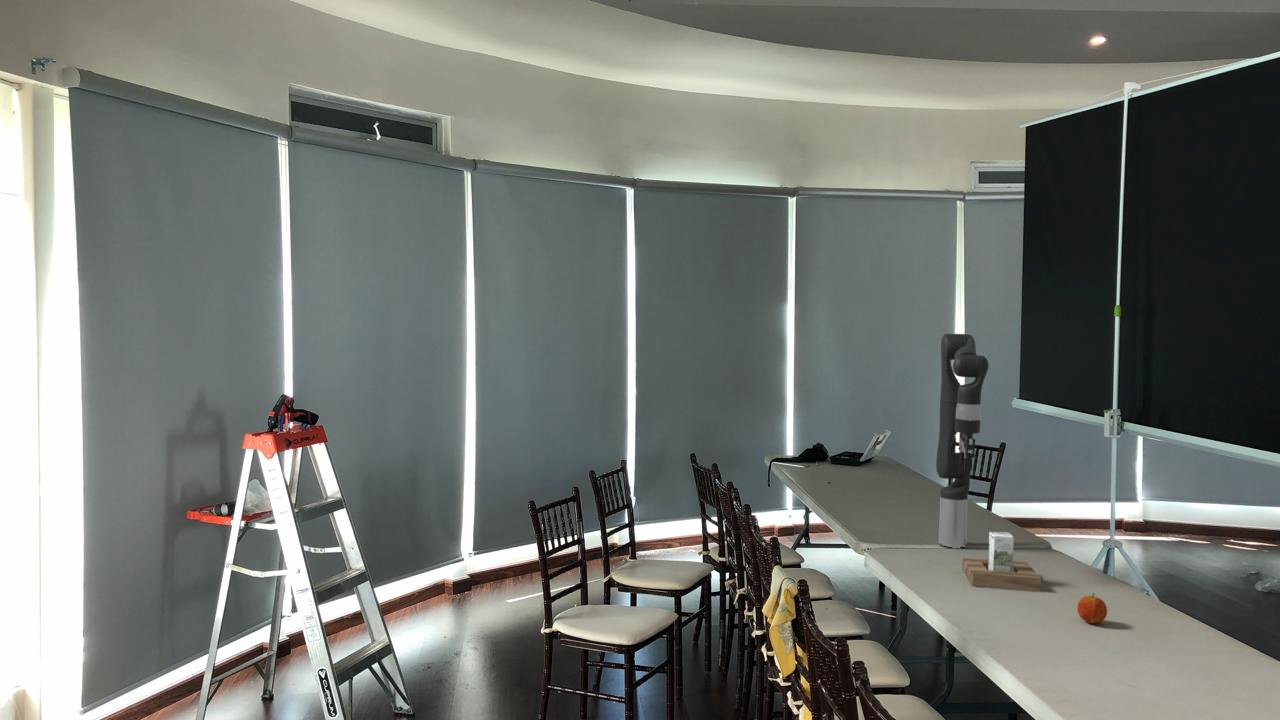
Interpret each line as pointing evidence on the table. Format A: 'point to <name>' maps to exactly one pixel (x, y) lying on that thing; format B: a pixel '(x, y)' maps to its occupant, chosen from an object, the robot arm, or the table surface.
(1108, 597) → the table surface
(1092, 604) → the fruit
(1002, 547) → the syrup box
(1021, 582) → the socket block
